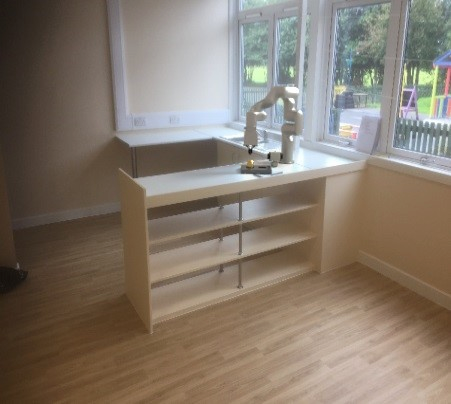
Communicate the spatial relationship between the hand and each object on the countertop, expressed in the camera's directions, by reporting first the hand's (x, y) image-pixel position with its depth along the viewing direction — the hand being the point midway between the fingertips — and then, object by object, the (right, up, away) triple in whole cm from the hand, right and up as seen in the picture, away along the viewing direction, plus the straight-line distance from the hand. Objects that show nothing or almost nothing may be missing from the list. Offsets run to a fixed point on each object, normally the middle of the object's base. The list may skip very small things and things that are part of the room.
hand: (250, 154), depth 307 cm
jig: (+4, -12, +4) cm, 13 cm away
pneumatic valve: (+20, -7, +21) cm, 30 cm away
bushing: (0, -12, +4) cm, 13 cm away
